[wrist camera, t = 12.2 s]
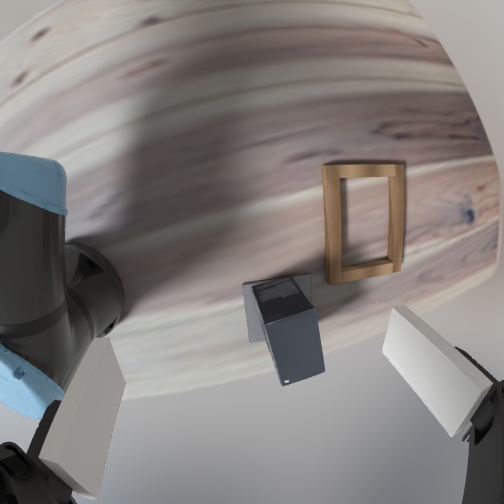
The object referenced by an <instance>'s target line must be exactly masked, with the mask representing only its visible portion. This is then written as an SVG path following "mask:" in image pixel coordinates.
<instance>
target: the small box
mask: <svg viewBox="0 0 504 504" xmlns="http://www.w3.org/2000/svg"><path fill="white" fill-rule="evenodd" d="M251 291H252V294H253V298H254V301H255V305H256V309H257V312H258V316H259V319H260V324H261V327H262V330H263V333H264V336H265V339H266V343H267V345H268V348H269V351H270V353H271V356H272V359H273V362H274V365H275V368H276V371H277V374H278V377H279V380H280V383H281V385H282V386H286V385H289V384H292V383H295V382H298V381H301V380H304V379H307V378H310V377H312V376H315V375H318V374H320V373H323V372H325V367H324V360H323V353H322V346H321V340H320V333H319V327H318V320H317V314H316V309H315V308H314V306H313V305H312V304H311V302H310V301H309V300H308V298H307V297H306V295H305V294H304V293H303V291H302V290H301V288H300V287H299V286H298V284H297V283H296V281H295V280H294V278H293V277H292V276H291V275H290V276H286V277H283V278H280V279H276V280H273V281H269V282H266V283H263V284H259V285H256V286H253V287H251Z"/></svg>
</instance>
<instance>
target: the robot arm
mask: <svg viewBox="0 0 504 504" xmlns="http://www.w3.org/2000/svg"><path fill="white" fill-rule="evenodd" d="M66 181H67V179H66V172H65V170H64V168H63V166H62V165H61V164H60V163H59V162H57V161H55V160H52V159H47V158H41V157H35V156H28V155H21V154H14V153H7V152H0V401H1V402H2V403H4V404H5V405H6V406H8V407H9V408H11V409H12V410H14V411H16V412H18V413H20V414H22V415H24V416H27V417H29V418H33V419H40V420H41V421H40V423H39V427H37V430H36V432H35V434H34V437H33V439H32V441H31V444H30V446H29V449H28V451H27V453H26V454H25V452H24V451H23V450H22V449H21V448H20V447H19V446H18V445H17V444H15V443H13V442H4V443H2V444H1V445H0V504H77V503H76V501H75V499H74V498H73V497H72V496H71V495H72V490H74V491H75V492H76V493H77V494H78V495H80V496H82V497H86V498H90V499H94V500H99V495H100V490H101V484H102V478H103V474H104V468H105V464H106V458H107V454H108V449H109V445H110V441H111V437H112V433H113V429H114V425H115V421H116V417H117V413H118V409H119V406H120V402H121V398H122V395H123V391H124V388H125V384H126V382H125V380H124V377H123V375H122V372H121V370H120V367H119V364H118V362H117V359H116V356H115V354H114V351H113V348H112V345H111V342H110V339H109V338H102V337H104V336H106V335H107V334H108V333H110V332H111V331H112V330H113V328H114V327H115V326H116V324H117V322H118V320H119V318H120V316H121V314H122V311H123V307H124V293H123V288H122V284H121V281H120V279H119V277H118V275H117V273H116V271H115V270H114V268H113V267H112V265H111V264H110V263H109V262H108V261H107V260H106V259H105V258H104V257H103V256H102V255H101V254H100V253H98V252H97V251H95V250H94V249H92V248H90V247H88V246H85V245H81V244H65V223H66V215H67V213H68V212H67V209H66ZM382 352H383V354H384V355H385V356H386V357H387V358H388V360H389V361H390V362H391V363H392V364H393V365H394V367H395V368H396V369H397V370H398V372H399V373H400V374H401V375H402V376H403V378H404V379H405V380H406V381H407V382H408V384H409V385H410V386H411V387H412V389H413V390H414V391H415V392H416V393H417V395H418V396H419V397H420V398H421V400H422V401H423V402H424V403H425V405H426V406H427V407H428V408H429V409H430V411H431V412H432V413H433V415H434V416H435V417H436V418H437V420H438V421H439V422H440V424H441V425H442V426H443V427H444V429H445V430H446V431H447V433H448V434H449V435H450V436H451V437H453V436H455V435H456V434H458V433H459V432H461V431H462V430H464V428H465V427H466V425H467V424H468V423H469V421H471V422H472V426H471V427H470V428H469V430H468V431H467V433H466V434H465V435H464V437H463V439H462V441H464V440H465V439H466V438H467V437H468V435H469V434H470V437H469V438H468V440H467V442H469V457H468V467H467V475H466V483H465V489H464V495H463V501H462V504H504V380H502V381H500V382H499V381H497V380H496V379H495V378H494V377H493V376H492V375H491V374H490V373H489V372H488V371H486V370H485V369H484V368H483V367H482V366H481V365H480V364H477V361H475V360H474V359H472V357H471V356H470V355H469V354H468V353H466V352H465V351H464V350H462V349H459V348H457V347H453V346H452V345H451V344H450V343H449V342H447V341H446V340H445V339H444V338H443V337H441V335H440V334H438V333H437V332H436V331H435V330H434V329H433V328H431V327H430V326H429V325H428V324H427V323H425V322H424V321H423V320H422V319H421V318H420V317H418V316H417V315H416V314H415V313H413V312H412V311H411V310H410V309H409V308H407V307H406V306H405V305H401V306H396V307H392V312H391V316H390V321H389V325H388V330H387V334H386V338H385V342H384V346H383V350H382Z"/></svg>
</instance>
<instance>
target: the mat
mask: <svg viewBox="0 0 504 504" xmlns="http://www.w3.org/2000/svg"><path fill="white" fill-rule="evenodd" d="M293 278H294V280H295V281H296V283H297V284H298V286H299V287H300V288H301V290H302V291H303V293H304V294H305V295H306V297H307V298H308V300H309V301H310V302H311V275H310V274H306V275H299V276H293ZM273 280H276V279H273ZM273 280H266V281H260V282H253V283H246V284H242V286H243V294H244V302H245V310H246V318H247V326H248V334H249V341H250V343H251V342H258V341H264V340H266V339H265V336H264V333H263V330H262V327H261V324H260V319H259V316H258V312H257V309H256V305H255V301H254V298H253V294H252V291H251V287H253V286H256V285H259V284H263V283H266V282H269V281H273Z"/></svg>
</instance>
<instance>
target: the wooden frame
mask: <svg viewBox="0 0 504 504" xmlns="http://www.w3.org/2000/svg"><path fill="white" fill-rule="evenodd" d="M322 174H323V191H324V213H325V254H326V281H327V283H328V284H329V285H334V284H339V283H345V282H350V281H355V280H360V279H365V278H370V277H375V276H380V275H385V274H390V273H394V272H399V271H401V261H402V248H403V232H404V165H399V164H345V165H322ZM388 176H389V237H388V255H387V259H385V260H380V261H374V262H368V263H363V264H357V265H351V266H345V267H341V196H340V178H351V177H388Z"/></svg>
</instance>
